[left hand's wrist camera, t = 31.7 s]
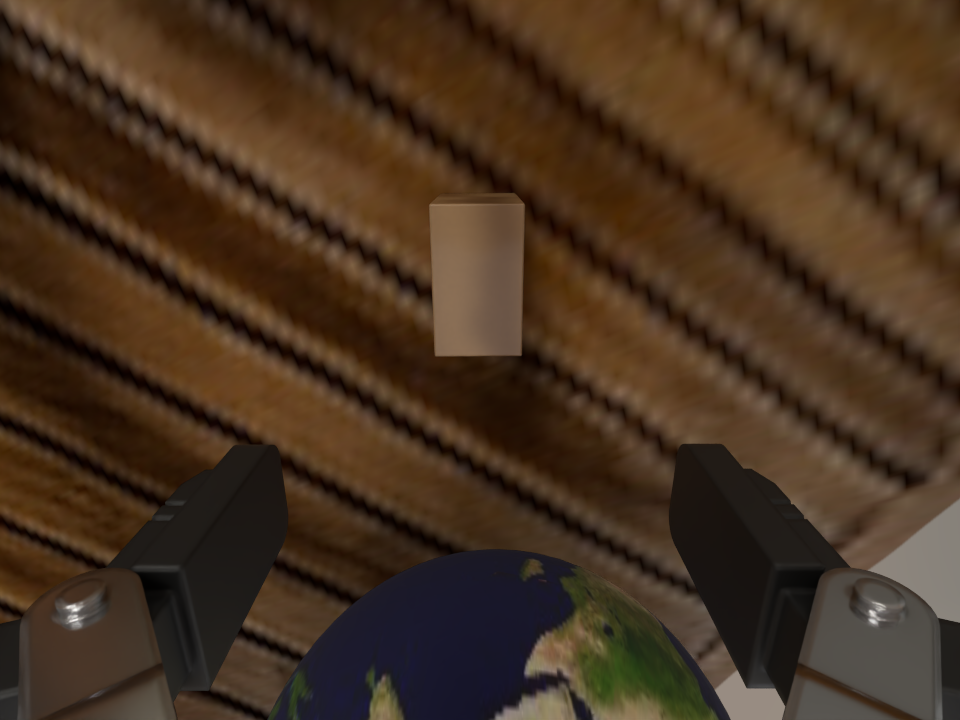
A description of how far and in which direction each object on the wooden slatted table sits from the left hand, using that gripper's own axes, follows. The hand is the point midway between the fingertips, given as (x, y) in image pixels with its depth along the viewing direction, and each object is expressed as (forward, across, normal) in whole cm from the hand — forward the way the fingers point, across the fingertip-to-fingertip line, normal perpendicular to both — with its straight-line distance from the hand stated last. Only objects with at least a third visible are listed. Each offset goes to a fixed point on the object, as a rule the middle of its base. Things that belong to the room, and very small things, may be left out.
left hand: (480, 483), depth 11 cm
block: (+28, 0, 0) cm, 28 cm away
